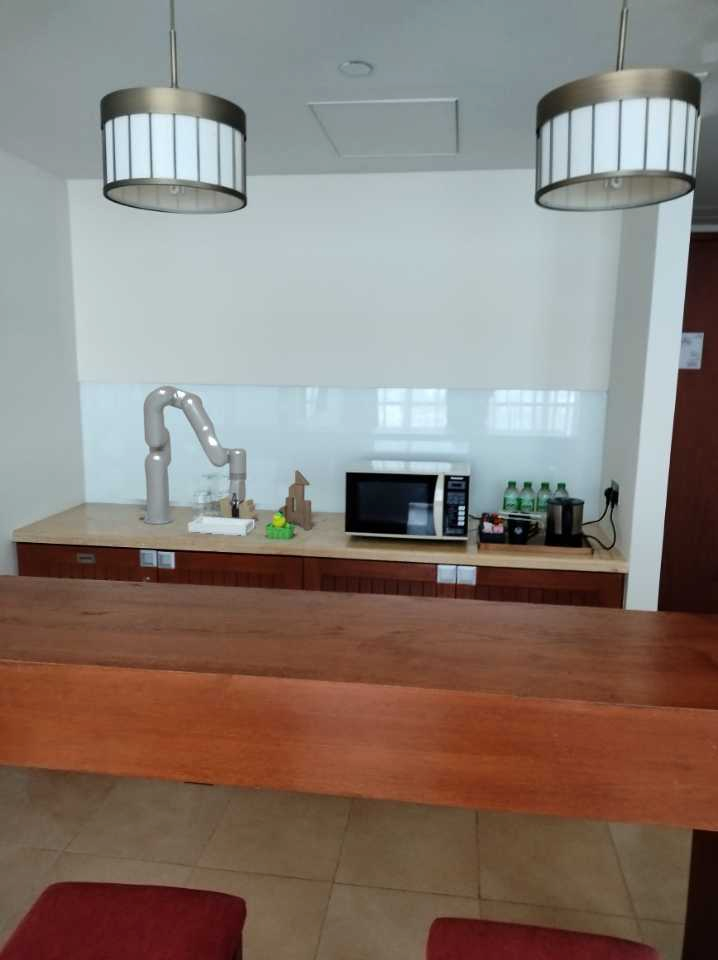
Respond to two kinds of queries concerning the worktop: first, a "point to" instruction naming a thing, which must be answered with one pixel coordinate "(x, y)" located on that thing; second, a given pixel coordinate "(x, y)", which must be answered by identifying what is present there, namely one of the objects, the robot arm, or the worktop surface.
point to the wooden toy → (297, 503)
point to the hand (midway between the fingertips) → (238, 514)
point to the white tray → (222, 525)
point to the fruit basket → (279, 528)
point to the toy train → (244, 509)
